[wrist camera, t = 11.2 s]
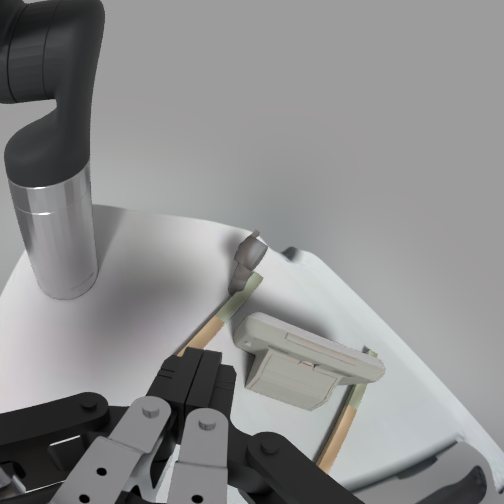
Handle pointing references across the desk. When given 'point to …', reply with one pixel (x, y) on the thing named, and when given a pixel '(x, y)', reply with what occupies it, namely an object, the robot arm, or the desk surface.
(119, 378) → the desk surface
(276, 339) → the digital clock
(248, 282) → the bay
